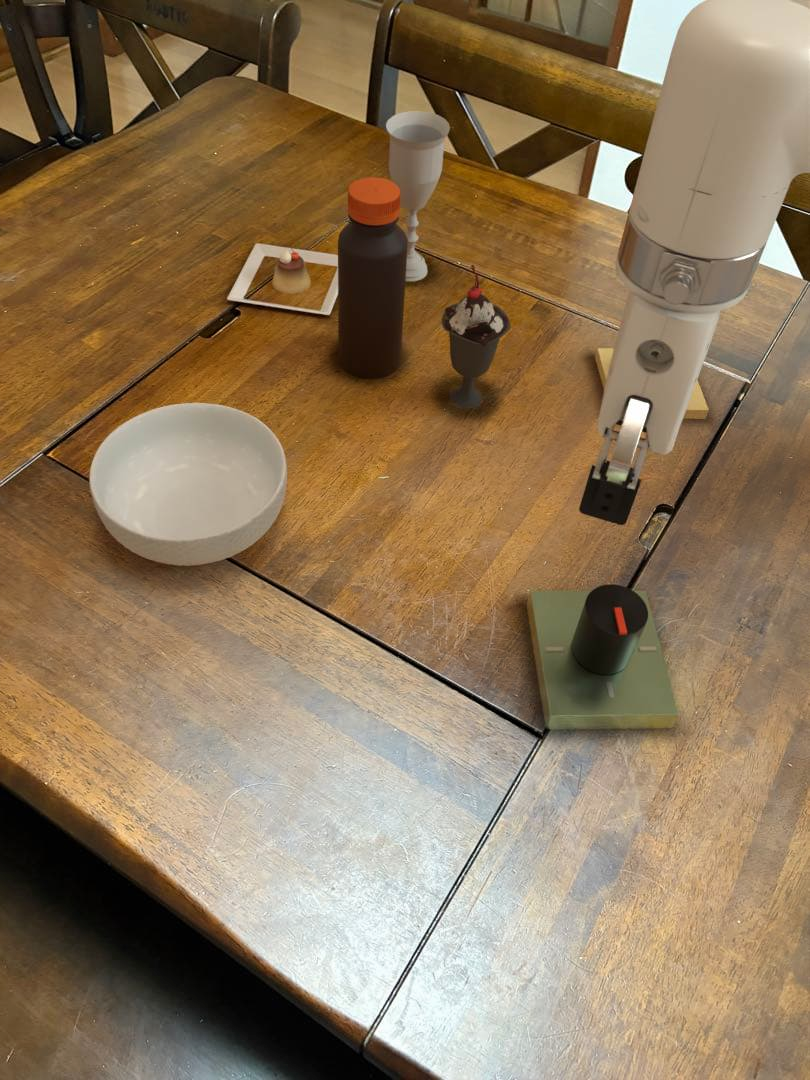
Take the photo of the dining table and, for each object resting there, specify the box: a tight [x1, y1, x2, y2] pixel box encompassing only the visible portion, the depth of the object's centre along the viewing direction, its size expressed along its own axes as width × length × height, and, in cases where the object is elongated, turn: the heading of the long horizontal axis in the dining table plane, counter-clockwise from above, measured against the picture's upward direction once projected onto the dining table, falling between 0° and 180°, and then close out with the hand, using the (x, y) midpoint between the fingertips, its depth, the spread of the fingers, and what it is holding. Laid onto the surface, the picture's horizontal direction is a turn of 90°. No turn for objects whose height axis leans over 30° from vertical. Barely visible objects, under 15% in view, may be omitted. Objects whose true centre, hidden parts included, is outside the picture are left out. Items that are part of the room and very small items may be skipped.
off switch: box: [594, 347, 710, 420], centre depth 98 cm, size 10×10×4 cm
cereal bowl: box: [88, 402, 288, 567], centre depth 81 cm, size 17×17×7 cm
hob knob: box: [572, 583, 648, 675], centre depth 71 cm, size 5×5×6 cm
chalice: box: [385, 110, 451, 282], centre depth 104 cm, size 7×7×18 cm
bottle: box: [337, 176, 408, 380], centre depth 92 cm, size 7×7×20 cm
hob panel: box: [526, 589, 679, 730], centre depth 74 cm, size 10×12×3 cm
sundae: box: [441, 264, 512, 409], centre depth 91 cm, size 7×7×15 cm
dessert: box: [226, 242, 338, 316], centre depth 106 cm, size 12×12×5 cm
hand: (616, 468), depth 64 cm, fingers open, 9 cm apart
